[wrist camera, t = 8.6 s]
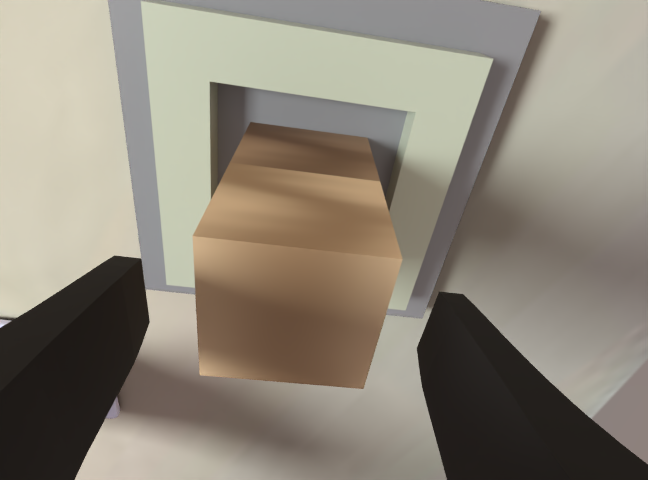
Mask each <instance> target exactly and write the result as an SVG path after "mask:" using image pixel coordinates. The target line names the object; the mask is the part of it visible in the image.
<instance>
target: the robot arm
mask: <svg viewBox="0 0 648 480" xmlns="http://www.w3.org/2000/svg"><path fill="white" fill-rule="evenodd" d="M148 325H149V314H148V306H147V298H146V291H145V283H144V275H143V267H142V260H141V259H140V258H131V257H122V256H113V257H112V258H110V259H108V260H107V261H105V262H103V263H102V264H100V265H99V266H97V267H96V268H94V269H93V270H91V271H90V272H88V273H87V274H85V275H84V276H82V277H80V278H79V279H77V280H76V281H74V282H73V283H71V284H70V285H68V286H67V287H65V288H64V289H62V290H61V291H59V292H57V293H56V294H54V295H53V296H51V297H50V298H48V299H47V300H45V301H43V302H42V303H40V304H39V305H37V306H36V307H34V308H32V309H31V310H29V311H28V312H26V313H24V314H23V315H21V316H19V317H18V318H16V319H14V320H12V321H11V320H0V480H75V477H76V475H77V473H78V471H79V469H80V467H81V465H82V463H83V460H84V458H85V456H86V454H87V452H88V450H89V448H90V447H91V445H92V443H93V441H94V439H95V437H96V435H97V433H98V431H99V429H100V428H101V426H102V424H103V422H104V420H105V418H116V417H118V415H119V413H120V407H119V403H118V398H117V395H118V393H119V391H120V390H121V388H122V386H123V384H124V382H125V380H126V378H127V376H128V374H129V372H130V370H131V368H132V366H133V364H134V362H135V360H136V358H137V355H138V352H139V350H140V347H141V345H142V342H143V339H144V336H145V333H146V331H147V328H148ZM417 353H418V361H419V369H420V376H421V382H422V388H423V392H424V396H425V400H426V403H427V407H428V411H429V415H430V419H431V422H432V426H433V430H434V433H435V437H436V441H437V444H438V448H439V452H440V455H441V459H442V463H443V466H444V470H445V474H446V477H447V480H648V464H646V463H645V462H644V461H642V460H641V459H640V458H639V457H637V456H636V455H635V454H634V453H632V452H631V451H630V450H628V449H627V448H626V447H625V446H623V445H622V444H621V443H619V442H618V441H617V440H616V439H615V438H614V437H612V436H611V435H610V434H609V433H607V432H606V431H605V430H604V429H603V428H601V427H600V426H599V425H598V424H597V423H595V422H594V421H593V420H592V419H591V418H589V417H588V416H587V415H586V414H585V413H584V412H582V411H581V410H580V409H579V408H578V407H577V406H576V405H574V404H573V403H572V402H571V401H570V400H569V399H568V398H567V397H566V396H565V395H564V394H562V393H561V392H560V391H559V390H558V389H557V388H556V387H555V386H554V385H553V384H552V383H551V382H549V381H548V380H547V379H546V378H545V377H544V376H543V375H542V374H541V373H540V372H539V371H538V370H537V369H536V368H535V367H534V366H533V365H532V364H531V363H530V362H529V361H528V360H527V359H526V358H525V357H524V356H523V355H522V354H521V353H520V352H519V351H518V350H517V349H516V348H515V347H514V346H513V345H512V344H511V343H510V342H509V341H508V340H507V339H506V338H505V337H504V336H503V335H502V334H501V333H500V331H499V330H498V329H497V328H496V327H495V326H494V325H493V324H492V323H491V322H490V321H489V320H488V319H487V318H486V317H485V316H484V315H483V314H482V313H481V312H480V311H479V310H478V308H477V307H476V306H475V305H474V304H473V303H472V302H471V301H470V300H469V299H467V298H466V297H465V296H464V295H463V294H456V293H447V292H439V294H438V296H437V299H436V302H435V304H434V307H433V309H432V312H431V314H430V317H429V319H428V322H427V324H426V327H425V329H424V332H423V334H422V337H421V339H420V342H419V344H418V347H417Z"/></svg>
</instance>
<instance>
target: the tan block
mask: <svg viewBox="0 0 648 480" xmlns="http://www.w3.org/2000/svg"><path fill="white" fill-rule="evenodd" d="M192 237H193V256H194V275H195V295H196V314H197V333H198V352H199V372H200V375H205V376H217V377H229V378H240V379H252V380H264V381H276V382H288V383H300V384H311V385H323V386H335V387H347V388H359V389H363V388H364V385H365V382H366V379H367V375H368V372H369V369H370V365H371V362H372V359H373V355H374V352H375V349H376V346H377V342H378V339H379V336H380V332H381V329H382V326H383V322H384V319H385V316H386V313H387V309H388V306H389V303H390V299H391V296H392V293H393V290H394V286H395V283H396V280H397V276H398V273H399V270H400V266H401V263H402V260H403V259H402V255H401V252H400V248H399V245H398V241H397V238H396V235H395V231H394V228H393V224H392V221H391V217H390V214H389V210H388V207H387V203H386V200H385V196H384V193H383V190H382V186H381V183H380V179H379V176H378V172H377V169H376V165H375V162H374V158H373V155H372V151H371V148H370V145H369V141H368V138H366V137H359V136H351V135H344V134H336V133H329V132H321V131H314V130H307V129H299V128H292V127H284V126H277V125H269V124H262V123H255V122H250V124H249V126H248V128H247V130H246V132H245V134H244V136H243V138H242V140H241V142H240V144H239V146H238V148H237V149H236V151H235V153H234V155H233V157H232V159H231V161H230V163H229V165H228V167H227V169H226V171H225V173H224V175H223V177H222V179H221V181H220V183H219V185H218V187H217V189H216V191H215V193H214V195H213V197H212V199H211V201H210V203H209V204H208V206H207V208H206V210H205V212H204V214H203V216H202V218H201V220H200V222H199V224H198V226H197V228H196V230H195V232H194V234H193V236H192Z"/></svg>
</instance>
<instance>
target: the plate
mask: <svg viewBox="0 0 648 480" xmlns="http://www.w3.org/2000/svg"><path fill="white" fill-rule="evenodd" d="M108 4H109V12H110V19H111V27H112V35H113V43H114V50H115V58H116V66H117V73H118V81H119V89H120V97H121V104H122V112H123V120H124V127H125V135H126V143H127V150H128V158H129V166H130V174H131V181H132V189H133V197H134V204H135V212H136V220H137V228H138V235H139V243H140V251H141V258H142V266H143V274H144V282H145V289H148V290H158V291H167V292H176V293H186V294H195V275H194V256H193V237H192V236H193V234H194V232H195V230H196V228H197V226H198V224H199V222H200V220H201V218H202V216H203V214H204V212H205V210H206V208H207V206H208V204H209V203H210V201H211V199H212V197H213V195H214V193H215V191H216V189H217V187H218V185H219V183H220V181H221V179H222V177H223V175H224V173H225V171H226V169H227V167H228V165H229V163H230V161H231V159H232V157H233V155H234V153H235V151H236V149H237V148H238V146H239V144H240V142H241V140H242V138H243V136H244V134H245V132H246V130H247V128H248V126H249V124H250V122H255V123H262V124H269V125H277V126H284V127H292V128H299V129H307V130H314V131H321V132H329V133H336V134H344V135H351V136H359V137H366V138H368V141H369V145H370V148H371V151H372V155H373V158H374V162H375V165H376V169H377V172H378V176H379V179H380V183H381V186H382V190H383V193H384V196H385V200H386V203H387V207H388V210H389V214H390V217H391V221H392V224H393V228H394V231H395V235H396V238H397V241H398V245H399V248H400V252H401V255H402V259H403V260H402V263H401V266H400V270H399V273H398V276H397V280H396V283H395V286H394V290H393V293H392V296H391V299H390V303H389V306H388V309H387V313H386V315H393V316H403V317H412V318H423V315H424V313H425V310H426V308H427V305H428V302H429V300H430V297H431V295H432V292H433V289H434V287H435V284H436V282H437V279H438V276H439V274H440V271H441V269H442V266H443V264H444V261H445V258H446V256H447V253H448V251H449V248H450V245H451V243H452V240H453V238H454V235H455V232H456V230H457V227H458V225H459V222H460V220H461V217H462V214H463V212H464V209H465V207H466V204H467V201H468V199H469V196H470V194H471V191H472V188H473V186H474V183H475V181H476V178H477V175H478V173H479V170H480V168H481V165H482V163H483V160H484V157H485V155H486V152H487V150H488V147H489V144H490V142H491V139H492V137H493V134H494V131H495V129H496V126H497V124H498V121H499V118H500V116H501V113H502V111H503V108H504V106H505V103H506V100H507V98H508V95H509V93H510V90H511V87H512V85H513V82H514V80H515V77H516V74H517V72H518V69H519V67H520V64H521V62H522V59H523V56H524V54H525V51H526V49H527V46H528V43H529V41H530V38H531V36H532V33H533V30H534V28H535V25H536V23H537V20H538V17H539V15H540V12H541V11H539V10H533V9H527V8H522V7H516V6H510V5H505V4H499V3H493V2H488V1H482V0H108Z"/></svg>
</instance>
